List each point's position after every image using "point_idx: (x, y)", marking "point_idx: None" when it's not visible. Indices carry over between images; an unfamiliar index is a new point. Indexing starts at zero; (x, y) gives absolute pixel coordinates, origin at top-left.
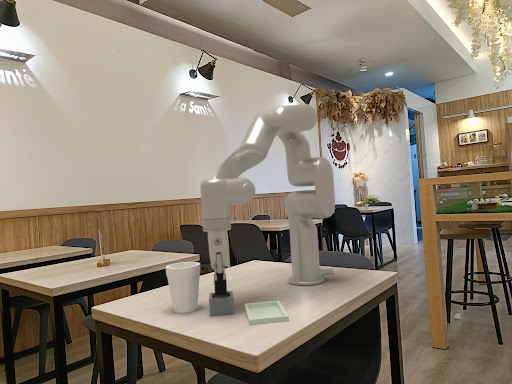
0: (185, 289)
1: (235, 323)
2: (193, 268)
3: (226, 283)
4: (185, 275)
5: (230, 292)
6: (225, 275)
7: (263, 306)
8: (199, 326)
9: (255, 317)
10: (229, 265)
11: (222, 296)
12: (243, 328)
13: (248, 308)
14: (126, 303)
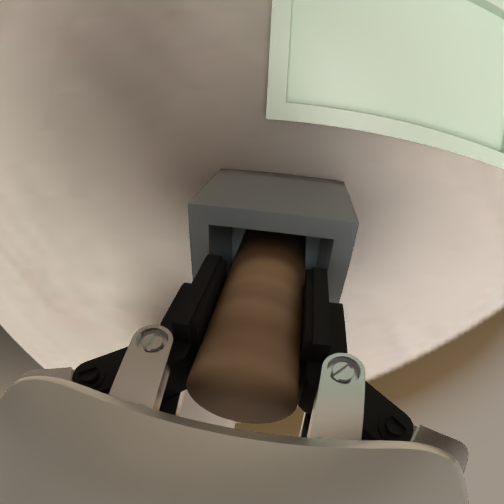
0: (232, 424)
1: (437, 201)
2: None
3: (328, 318)
4: None
5: (225, 221)
6: (265, 361)
7: (292, 16)
8: (389, 320)
9: (443, 107)
10: (458, 466)
11: (303, 280)
12: (496, 188)
13: (372, 117)
14: None
